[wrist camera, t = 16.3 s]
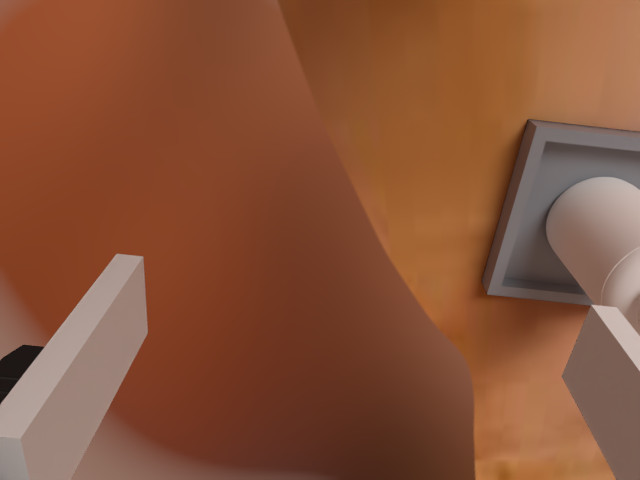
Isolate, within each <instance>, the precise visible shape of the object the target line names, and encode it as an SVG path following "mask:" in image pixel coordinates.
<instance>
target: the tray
mask: <svg viewBox="0 0 640 480" xmlns="http://www.w3.org/2000/svg"><path fill="white" fill-rule="evenodd" d="M595 177H614V178H618V179H621V180H624V181H626V182H628V183H630V184H632V185H634V186H635V187H636V188H638V189H639V190H640V132H637V131H628V130H619V129H611V128H602V127H593V126H584V125H575V124H566V123H557V122H548V121H539V120H531V119H528V121H527V125H526V128H525V132H524V135H523V139H522V142H521V146H520V149H519V153H518V156H517V160H516V163H515V167H514V170H513V174H512V177H511V181H510V184H509V187H508V191H507V194H506V198H505V201H504V205H503V208H502V212H501V215H500V219H499V222H498V226H497V229H496V233H495V236H494V240H493V243H492V247H491V250H490V254H489V257H488V261H487V264H486V267H485V271H484V274H483V278H482V281H481V282H482V284H483V287H484V289H485V291H486V293H487V295H496V296H506V297H515V298H524V299H534V300H543V301H552V302H562V303H571V304H580V305H590V306H591V305H595V304H594V303H593V302H592V300H591V299H590V298H589V296H588V295H587V294H586V292H585V291H584V290H583V289H582V287H581V286H580V285H579V283H578V282H577V281H576V279H575V278H574V277H573V276H572V274H571V273H570V272H569V270H568V269H567V268H566V266H565V265H564V264H563V263H562V261H561V260H560V259H559V257H558V256H557V255H556V253H555V252H554V251H553V249H552V247H551V245H550V243H549V241H548V238H547V234H546V221H547V217H548V214H549V211H550V209H551V207H552V206H553V204H554V203H555V201H556V200H557V199H558V198H559V196H560V195H561V194H562V193H564V192H565V191H566V190H567V189H569V188H570V187H572V186H573V185H575V184H577V183H579V182H581V181H584V180H587V179H590V178H595Z"/></svg>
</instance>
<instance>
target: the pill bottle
mask: <svg viewBox="0 0 640 480" xmlns="http://www.w3.org/2000/svg"><path fill="white" fill-rule="evenodd" d="M546 234H547V238H548V241H549V243H550V245H551V247H552V249H553V251H554V252H555V253H556V255H557V256H558V257H559V259H560V260H561V261H562V263H563V264H564V265H565V266H566V268H567V269H568V270H569V272H570V273H571V274H572V276H573V277H574V278H575V279H576V281H577V282H578V283H579V285H580V286H581V287H582V289H583V290H584V291H585V292H586V294H587V295H588V296H589V298H590V299H591V300H592V302H593V303H594V304H595V305H599V306H608V307H617V308H618V309H619V311H620V312H621V313H622V314H623V316H624V317H625V318H626V319H627V321H628V322H629V323H630V324H631V326H632V327H633V328H634V329H635V331H636V332H637V333H638V335H639V336H640V190H639V189H638V188H636V187H635V186H634V185H632V184H630V183H628V182H626V181H624V180H621V179H618V178H614V177H595V178H590V179H587V180H584V181H581V182H579V183H577V184H575V185H573V186H572V187H570V188H569V189H567V190H566V191H565V192H564V193H562V194H561V195H560V196H559V198H558V199H557V200H556V201H555V203H554V204H553V206H552V207H551V209H550V211H549V214H548V217H547V221H546Z"/></svg>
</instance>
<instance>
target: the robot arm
mask: <svg viewBox="0 0 640 480" xmlns="http://www.w3.org/2000/svg"><path fill="white" fill-rule="evenodd" d="M147 333H148V328H147V311H146V295H145V277H144V260H143V256H133V255H124V254H116V256H115V257H114V258H113V259H112V261H111V262H110V263H109V265H108V266H107V267H106V268H105V270H104V271H103V272H102V274H101V275H100V276H99V278H98V279H97V280H96V281H95V283H94V284H93V285H92V286H91V288H90V289H89V290H88V292H87V293H86V294H85V295H84V297H83V298H82V299H81V301H80V302H79V303H78V305H77V306H76V307H75V309H74V310H73V311H72V312H71V314H70V315H69V316H68V318H67V319H66V320H65V321H64V323H63V324H62V325H61V327H60V328H59V329H58V331H57V332H56V333H55V334H54V336H53V337H52V338H51V340H50V341H49V342H48V344H47V345H46V346H45V347H39V346H30V345H22V346H21V347H19V348H18V349H16V350H14V351H13V352H11V353H10V354H8V355H7V356H5V357H3V358H2V359H1V360H0V480H71V478H72V476H73V475H74V473H75V471H76V469H77V467H78V465H79V463H80V461H81V459H82V457H83V456H84V454H85V452H86V450H87V448H88V445H89V444H90V442H91V440H92V438H93V436H94V434H95V433H96V431H97V429H98V427H99V425H100V423H101V421H102V419H103V417H104V415H105V414H106V412H107V410H108V408H109V406H110V404H111V402H112V400H113V398H114V396H115V394H116V392H117V391H118V389H119V387H120V385H121V383H122V381H123V379H124V377H125V375H126V373H127V371H128V370H129V368H130V366H131V364H132V362H133V360H134V358H135V356H136V354H137V352H138V350H139V349H140V347H141V345H142V343H143V341H144V339H145V337H146V335H147ZM562 378H563V380H564V382H565V384H566V385H567V387H568V389H569V391H570V393H571V395H572V397H573V399H574V401H575V402H576V404H577V406H578V408H579V410H580V412H581V414H582V416H583V417H584V419H585V421H586V423H587V425H588V427H589V429H590V431H591V433H592V434H593V436H594V438H595V440H596V442H597V444H598V446H599V448H600V449H601V451H602V453H603V455H604V457H605V459H606V461H607V463H608V465H609V466H610V468H611V470H612V472H613V474H614V476H615V478H616V480H640V336H639V335H638V333H637V332H636V331H635V329H634V328H633V327H632V326H631V324H630V323H629V322H628V321H627V319H626V318H625V317H624V316H623V314H622V313H621V312H620V311H619V309H618V308H617V307H608V306H599V305H591V306H590V309H589V311H588V314H587V316H586V318H585V321H584V323H583V326H582V328H581V331H580V333H579V335H578V338H577V340H576V343H575V345H574V348H573V350H572V352H571V355H570V357H569V360H568V362H567V365H566V367H565V370H564V372H563V374H562Z"/></svg>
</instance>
